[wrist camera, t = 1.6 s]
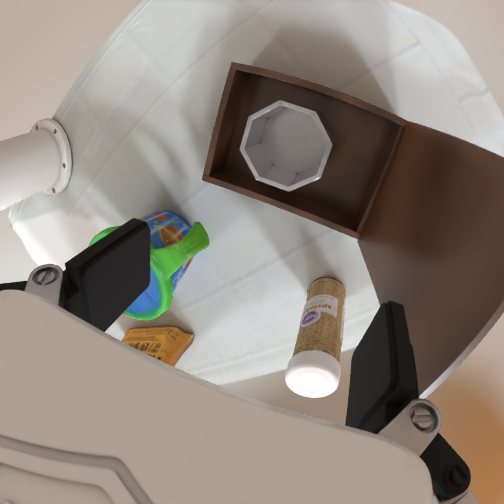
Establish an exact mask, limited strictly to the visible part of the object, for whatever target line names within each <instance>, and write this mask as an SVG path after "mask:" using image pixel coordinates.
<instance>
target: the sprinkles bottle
mask: <svg viewBox="0 0 504 504" xmlns="http://www.w3.org/2000/svg"><path fill="white" fill-rule="evenodd" d="M345 297H346V294H345V289H344V287H343V285H342V284H341V283H340V282H338V281H337V280H334V279H332V278H321V279H318V280H316V281H314V282H313V283H312V284H311V285H310V287H309V289H308V292H307V300H306V304H305V306H304V310H303V314H302V318H301V322H300V329H299V333H298V336H297V341H296V345H295V349H294V353H293V356H292V358H291V359H290V361H289V364H288V367H287V371H286V375H285V380H286V384H287V385H288V387H289V388H290V389H291V390H292V391H294V392H295V393H297V394H300V395H302V396H306V397H323V396H327V395H329V394H331V393H332V392H334V391H335V390H336V388H337V387H338V384H339V379H340V371H341V370H340V369H341V368H340V363H339V361H340V352H341V346H342V339H343V327H344V300H345Z"/></svg>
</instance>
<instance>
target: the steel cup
mask: <svg viewBox="0 0 504 504" xmlns="http://www.w3.org/2000/svg"><path fill="white" fill-rule="evenodd" d="M333 142H334V137H333V135H332V133H331V131H330V129H329V127H328V125H327V123H326V121H325V119H324V118H323V116H322V114H321V112H320V111H317V110H314V109H311V108H308V107H305V106H302V105H299V104H296V103H293V102H288V101H283V100H279V101H277V102H275V103H273V104H271V105H269V106H268V107H266V108H264V109H262V110H260V111H258V112H256V113H254V114H253V115H251V116H249V117H248V121H247V124H246V128H245V132H244V135H243V139H242V143H241V146H240V151H241V153H242V155H243V157H244V158H245V160H246V162H247V164H248V166H249V168H250V169H251V171H252V173H253V175H254V177H255V179H256V180H258V181H261V182H264V183H267V184H269V185H272V186H275V187H278V188H280V189H283V190H286V191H288V192H289V191H292V190H294V189H296V188H299V187H301V186H303V185H306V184H308V183H310V182H313V181H315V180H317V179H320V178H321V176H322V173H323V170H324V168H325V165H326V162H327V160H328V157H329V154H330V151H331V148H332V146H333Z"/></svg>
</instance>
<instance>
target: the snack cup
mask: <svg viewBox="0 0 504 504" xmlns="http://www.w3.org/2000/svg"><path fill="white" fill-rule="evenodd" d="M139 220H142V221H145V222H147V224H148V226H149V227H150V230H151V234H150V279H151V280H150V284H149V286H148V288H147V289H146V290H145V291H144V292H143V293H142V294H141V295H140V296H139V297H138V298H137V299H136V300H135V301H134V302H133V303H132V304H131V305H130V306H129V307H128V308H127V309H126V310H125V311H124V312H123V314H125V315H127V316H129V317H131V318H134V319H138V320H152V319H155V318H157V317H158V316H160V315H161V314H162V313H165V312H166V311H167V309H168V308H169V306H170V303H171V299H172V293H173V291H174V290H175V288H176V286H177V284H178V282H179V281H180V279H181V278H182V276H183V274H184V273H185V271H186V269H187V268H188V266H189V264H190V263H191V261H192V259H193V256H194V255H195V254H196V253H198V252H199V251H201V250H203V249H205V248H206V247H208V245H209V238H208V235H207V233H206V231H205V229H204V227H203V226H202V225H201V223H200V222H195V223H194V225H193V227H192V228H191V227H190V226H188V225H187V223H186V222H185V221H184V220H183V219H182V218H180V217H179V216H177V215H176V214H173V213H171V212H170V211H163V212H157V213H153V214H150V215H147V216H145V217H142V218H139ZM118 227H120V226H117V227H110V228H107V229H105V230H103V231H101V232H100V233H98V234H97V235H96V236H95V237H94V238H93V239H92V241H91V243H90V245H89V246H91V245H92V244H94V243H95V242H97V241H98V240H100V239H101V238H103V237H105V236H106V235H108V234H109V233H111V232H112V231H114V230H115V229H117V228H118Z"/></svg>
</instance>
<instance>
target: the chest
mask: <svg viewBox="0 0 504 504" xmlns="http://www.w3.org/2000/svg"><path fill="white" fill-rule="evenodd" d="M230 68H231V69H230V70H229V73H228V77H227V80H226V84H225V88H224V91H223V95H222V99H221V102H220V106H219V110H218V114H217V118H216V122H215V126H214V130H213V134H212V138H211V142H210V147H209V151H208V155H207V160H206V164H205V169H204V173H203V178H202V180H203V181H206V182H209V183H212V184H215V185H218V186H221V187H224V188H226V189H229V190H232V191H235V192H238V193H240V194H243V195H246V196H249V197H252V198H254V199H257V200H260V201H262V202H265V203H268V204H270V205H273V206H276V207H278V208H281V209H284V210H286V211H289V212H291V213H294V214H297V215H299V216H302V217H304V218H307V219H309V220H312V221H314V222H317V223H319V224H322V225H324V226H327V227H329V228H332V229H334V230H337V231H339V232H341V233H344V234H346V235H349V236H351V237H353V238H356V239H358V238H359V236H360V234H361V232H362V230H363V228H364V226H365V224H366V222H367V219H368V217H369V215H370V213H371V211H372V208H373V206H374V204H375V202H376V199H377V197H378V195H379V193H380V190H381V188H382V186H383V183H384V181H385V179H386V176H387V174H388V171H389V169H390V166H391V164H392V162H393V159H394V157H395V154H396V151H397V149H398V146H399V144H400V141H401V138H402V136H403V133H404V130H405V128H406V125H407V122H408V121H407V120H405V119H403V118H400V117H398V116H396V115H394V114H392V113H390V112H388V111H385V110H383V109H381V108H379V107H376V106H374V105H372V104H369V103H367V102H364V101H362V100H359V99H357V98H354V97H352V96H349V95H346V94H344V93H341V92H338V91H336V90H333V89H330V88H327V87H324V86H321V85H318V84H315V83H312V82H309V81H306V80H302V79H299V78H296V77H292V76H289V75H285V74H281V73H278V72H274V71H270V70H266V69H262V68H257V67H253V66H248V65H244V64H239V63H234V62H232V63H231V66H230ZM279 100H283V101H288V102H293V103H296V104H299V105H302V106H305V107H308V108H311V109H314V110H317V111H320V112H321V114H322V116H323V118H324V119H325V121H326V123H327V125H328V127H329V129H330V131H331V133H332V135H333V137H334V142H333V146H332V148H331V151H330V154H329V157H328V160H327V162H326V165H325V168H324V170H323V173H322V176H321V178H320V179H317V180H315V181H313V182H310V183H308V184H306V185H303V186H301V187H299V188H296V189H294V190H292V191H289V192H288V191H286V190H283V189H280V188H278V187H275V186H272V185H269V184H267V183H264V182H261V181H258V180H256V179H255V177H254V175H253V173H252V171H251V169H250V168H249V166H248V164H247V162H246V160H245V158H244V157H243V155H242V153H241V151H240V146H241V143H242V139H243V135H244V132H245V128H246V124H247V121H248V117H249V116H251V115H253V114H254V113H256V112H258V111H260V110H262V109H264V108H266V107H268V106H269V105H271V104H273V103H275V102H277V101H279Z"/></svg>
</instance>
